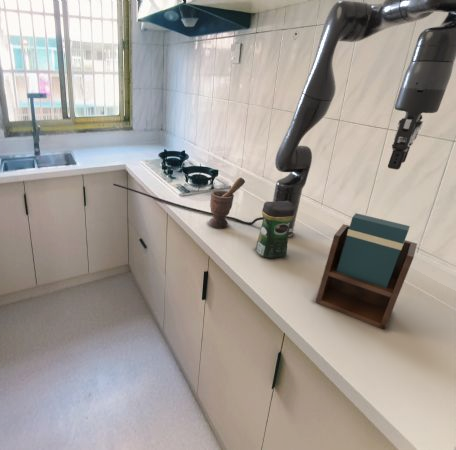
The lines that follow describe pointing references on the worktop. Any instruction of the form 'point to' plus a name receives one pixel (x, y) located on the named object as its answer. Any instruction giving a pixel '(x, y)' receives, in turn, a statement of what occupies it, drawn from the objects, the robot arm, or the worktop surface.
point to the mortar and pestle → (222, 204)
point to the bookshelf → (362, 286)
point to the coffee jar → (275, 229)
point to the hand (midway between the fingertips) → (396, 165)
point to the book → (372, 249)
